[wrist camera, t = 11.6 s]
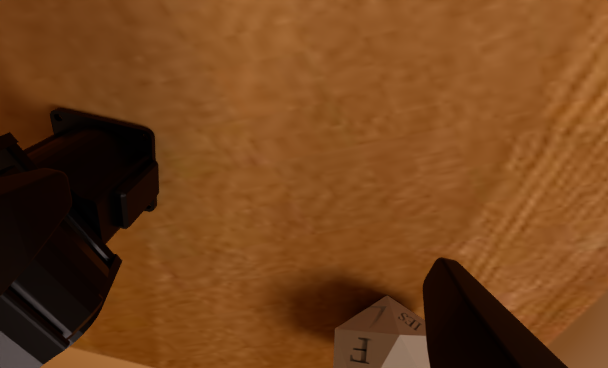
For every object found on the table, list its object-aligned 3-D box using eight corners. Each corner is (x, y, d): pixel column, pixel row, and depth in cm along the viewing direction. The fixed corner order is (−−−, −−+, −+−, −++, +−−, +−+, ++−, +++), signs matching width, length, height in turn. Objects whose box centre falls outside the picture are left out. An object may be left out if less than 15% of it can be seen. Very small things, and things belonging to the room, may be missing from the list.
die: (448, 282, 27) (405, 346, 19) (474, 390, 27) (442, 500, 19) (358, 283, 32) (294, 333, 24) (379, 373, 32) (322, 454, 24)
